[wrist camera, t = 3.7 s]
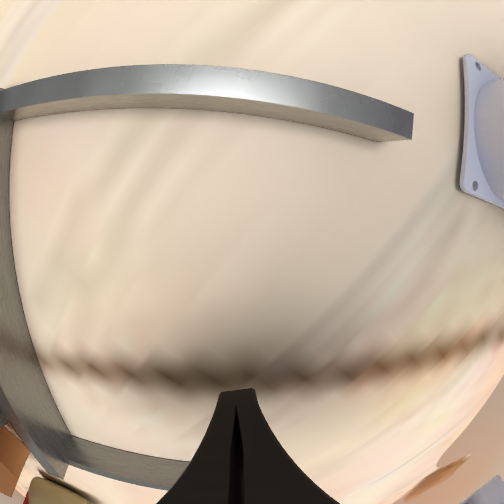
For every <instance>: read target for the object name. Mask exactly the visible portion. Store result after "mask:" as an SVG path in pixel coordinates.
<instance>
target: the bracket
mask: <svg viewBox="0 0 504 504" xmlns="http://www.w3.org/2000/svg"><path fill="white" fill-rule="evenodd" d="M29 453H30V451H29V449H28V448H27V447H26V446H25V445H24V444H23V443H22V442H21V441H20V440H19V439H18V438H17V437H16V436H15V435H14V434H12V433H11V432H10V431H9V430H8V429H7V428H6V427H5V426H3V427H1V428H0V492H1V493H3V494H5V495H7V496H10V497H12V494H13V492H14V489H15V486H16V484H17V481H18V479H19V476H20V474H21V471H22V469H23V467H24V464H25V462H26V460H27V457H28V455H29Z"/></svg>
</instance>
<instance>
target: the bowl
mask: <svg viewBox="0 0 504 504" xmlns="http://www.w3.org/2000/svg"><path fill="white" fill-rule="evenodd" d="M28 498H29V504H90V502H89V501H88V500H86V499H84V498H83V497H81V496H79V495H78V494H76V493H74V492H72V491H71V490H69V489H67V488H65V487H63V486H61V485H58V484H56V483H54V482H51V481H49V480H46V479H43V478H40V477H35V478H33V479H32V481H31V483H30V487H29V494H28Z"/></svg>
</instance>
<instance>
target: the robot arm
mask: <svg viewBox="0 0 504 504" xmlns="http://www.w3.org/2000/svg"><path fill="white" fill-rule="evenodd" d="M463 68H464V86H465V125H464V143H463V155H462V165H461V173H460V183H459V184H460V188H461V190H462V191H463V192H465V193H467V194H470V195H472V196H475V197H477V198H480V199H482V200H485V201H487V202H489V203H492V204H494V205H496V206H498V207H500V208H503V209H504V80H502V79H501V78H499V77H498V76H497V75H496V74H495V73H493V72H492V71H491V70H490V69H489V68H487V67H486V66H485V65H484V64H482V63H481V62H480V61H478V60H477V59H476V58H474V57H473V56H472V55H470V54H467V55H464V56H463ZM472 184H473V188H472ZM157 504H340V503H338V502H337V501H335V500H334V499H333V498H332V497H330V496H329V495H328V494H326V493H325V492H324V491H323V490H322V489H321V488H319V487H318V486H317V485H316V484H315V483H314V482H313V481H312V480H311V479H310V478H309V477H308V476H307V475H306V474H305V473H304V472H303V471H302V470H301V469H300V468H299V467H298V466H297V465H296V463H295V462H294V461H293V460H292V459H291V457H290V456H289V455H288V454H287V452H286V451H285V450H284V448H283V447H282V446H281V444H280V443H279V441H278V440H277V438H276V437H275V435H274V434H273V432H272V430H271V429H270V427H269V425H268V423H267V421H266V420H265V418H264V416H263V414H262V411H261V409H260V407H259V404H258V401H257V397H256V393H255V390H254V389H252V388H249V389H242V390H235V391H227V392H221V393H220V394H219V398H218V402H217V405H216V408H215V411H214V414H213V417H212V419H211V422H210V424H209V427H208V429H207V431H206V434H205V436H204V438H203V440H202V442H201V444H200V446H199V448H198V449H197V451H196V453H195V455H194V457H193V458H192V460H191V462H190V463H189V465H188V466H187V468H186V469H185V471H184V472H183V473H182V475H181V476H180V477H179V479H178V480H177V481H176V483H175V484H174V485H173V486H172V488H171V489H170V490H169V491H168V492H167V493H166V494H165V495H164V496H163V497H162V498H161V499H160V501H159V502H158V503H157ZM460 504H504V482H503V481H502V479H501V477H500V476H499V475H496V476H495V477H494V478H492V479H491V480H490V481H489V482H487V483H486V484H485V485H483V486H482V487H481V488H480V489H478V490H477V491H475V492H474V493H473V494H472V495H471V496H469V498H467V500H465V501H464V502H462V503H460Z"/></svg>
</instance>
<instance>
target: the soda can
mask: <svg viewBox="0 0 504 504" xmlns="http://www.w3.org/2000/svg"><path fill="white" fill-rule="evenodd" d="M28 494H29V491H28V492H27V494H26V497H25V500H24V503H23V504H29V498H28Z"/></svg>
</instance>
